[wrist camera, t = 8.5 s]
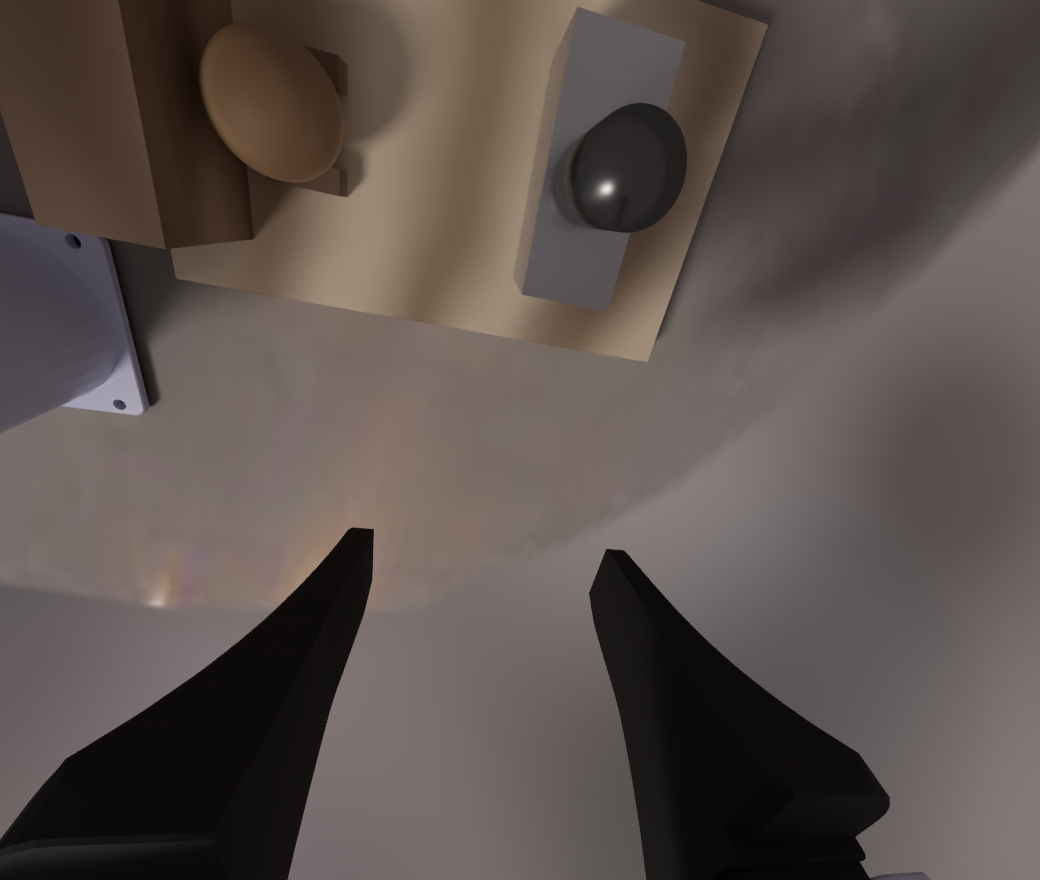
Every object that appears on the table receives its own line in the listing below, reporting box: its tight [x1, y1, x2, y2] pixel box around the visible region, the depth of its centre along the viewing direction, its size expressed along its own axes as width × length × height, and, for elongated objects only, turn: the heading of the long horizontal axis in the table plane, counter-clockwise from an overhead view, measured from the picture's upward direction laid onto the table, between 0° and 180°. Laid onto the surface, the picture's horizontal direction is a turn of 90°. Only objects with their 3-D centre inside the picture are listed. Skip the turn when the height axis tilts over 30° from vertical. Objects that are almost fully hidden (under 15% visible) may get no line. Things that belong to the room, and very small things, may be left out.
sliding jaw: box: [513, 6, 687, 311], centre depth 12 cm, size 3×7×8 cm, turn 169°
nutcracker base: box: [0, 0, 768, 362], centre depth 13 cm, size 20×12×6 cm, turn 79°
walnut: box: [199, 22, 344, 182], centre depth 12 cm, size 4×4×4 cm
